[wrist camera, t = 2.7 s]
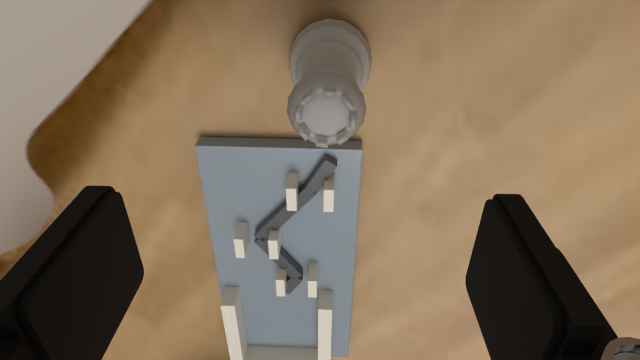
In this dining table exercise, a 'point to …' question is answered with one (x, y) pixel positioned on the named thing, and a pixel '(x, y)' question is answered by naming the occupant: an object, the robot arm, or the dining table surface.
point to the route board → (283, 243)
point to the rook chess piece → (328, 82)
